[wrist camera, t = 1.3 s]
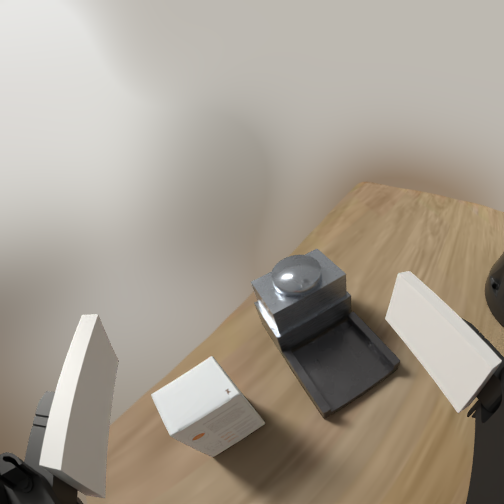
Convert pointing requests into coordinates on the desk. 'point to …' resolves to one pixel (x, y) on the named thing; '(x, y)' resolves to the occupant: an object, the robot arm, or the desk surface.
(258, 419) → the small box
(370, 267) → the desk surface
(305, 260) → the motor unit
